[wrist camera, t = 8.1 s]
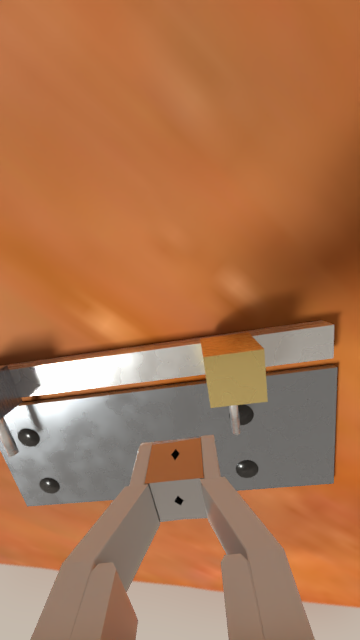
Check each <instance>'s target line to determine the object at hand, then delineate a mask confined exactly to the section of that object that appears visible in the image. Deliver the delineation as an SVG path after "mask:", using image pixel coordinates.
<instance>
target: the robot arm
mask: <svg viewBox="0 0 360 640" xmlns="http://www.w3.org/2000/svg"><path fill="white" fill-rule="evenodd" d="M197 518H208V521H209V522H210V524H211V526H212V528H213V530H214V532H215V533H216V535H217V537H218V539H219V541H220V543H221V545H222V546H223V548H224V550H225V552H226V554H227V555H224V557H223V559H222V561H221V569H222V579H223V588H224V598H225V607H226V617H227V627H228V636H229V640H315V639H314V636H313V633H312V630H311V627H310V625H309V621H308V619H307V615H306V613H305V610H304V607H303V604H302V601H301V598H300V595H299V592H298V589H297V586H296V583H295V580H294V577H293V575H292V572H291V569H290V566H289V563H288V560H287V557H286V554H285V551H284V549H283V548H282V546H281V545H280V544H279V543H278V541H277V540H276V539H275V538H274V537H273V535H272V534H271V533H270V532H269V530H268V529H267V528H266V527H265V526H264V524H263V523H262V522H261V521H260V519H259V518H258V517H257V516H256V514H255V513H254V512H253V511H252V510H251V508H250V507H249V506H248V505H247V503H246V502H245V501H244V500H243V498H242V497H241V496H240V495H239V494H238V492H237V491H236V490H235V489H234V487H233V486H232V485H231V484H230V483H229V481H228V480H227V479H226V478H225V477H221V475H220V469H219V463H218V457H217V451H216V445H215V439H214V435H207V436H198V437H190V438H183V439H177V440H166V441H155V442H146V443H141V445H140V446H139V449H138V453H137V457H136V461H135V465H134V468H133V472H132V476H131V480H130V484H129V486H126V487H124V488H123V490H122V491H121V492H120V493H119V495H118V496H117V497H116V498H115V499H114V501H113V502H112V503H111V504H110V506H109V507H108V508H107V509H106V511H105V512H104V513H103V514H102V515H101V517H100V518H99V519H98V520H97V522H96V523H95V524H94V525H93V527H92V528H91V529H90V530H89V531H88V533H87V534H86V535H85V536H84V538H83V539H82V540H81V541H80V543H79V544H78V545H77V546H76V547H75V549H74V550H73V551H72V552H71V554H70V555H69V556H68V557H67V558H66V560H65V561H64V562H63V563H62V566H61V568H60V570H59V573H58V575H57V578H56V580H55V582H54V585H53V587H52V589H51V592H50V594H49V597H48V599H47V602H46V604H45V606H44V609H43V611H42V614H41V616H40V618H39V621H38V623H37V626H36V628H35V630H34V633H33V635H32V637H31V640H135V639H136V632H137V624H138V620H137V617H136V614H135V612H134V609H133V607H132V605H131V603H130V600H129V598H128V596H127V593H126V592H127V590H128V588H129V586H130V584H131V582H132V580H133V578H134V576H135V574H136V572H137V570H138V568H139V566H140V564H141V562H142V560H143V558H144V556H145V554H146V552H147V550H148V548H149V546H150V544H151V542H152V540H153V538H154V536H155V533H156V531H157V529H158V527H159V525H160V522H164V521H172V520H181V519H197Z"/></svg>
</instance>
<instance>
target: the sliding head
mask: <svg viewBox="0 0 360 640" xmlns="http://www.w3.org/2000/svg"><path fill="white" fill-rule="evenodd" d="M200 341H201V348H202V355H203V361H204V368H205V375H206V381H207V388H208V394H209V401H210V407H211V408H215V407H224V406H229V413H230V421H231V429H232V433H233V434H235V435H238V434H240V433H241V428H240V419H239V409H238V405H243V404H252V403H261V402H268V398H267V383H266V367H265V352H264V348H263V347H262V346H261V345H260V344H259V343H258V342H257V341H256V340H255V339H254V338H253V337H252V335H251V334H250V333H249V332H247V333H240V334H233V335H225V336H218V337H211V338H204V339H200Z"/></svg>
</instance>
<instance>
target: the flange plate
mask: <svg viewBox="0 0 360 640" xmlns="http://www.w3.org/2000/svg"><path fill="white" fill-rule="evenodd" d="M266 383H267V398H268V402H261V403H252V404H243V405H238V409H239V419H240V428H241V433H240V434H238V435H235V434H233V433H232V429H231V421H230V413H229V406H224V407H215V408H211V407H210V401H209V394H208V388H207V381H206V380H201V381H193V382H185V383H176V384H168V385H160V386H152V387H144V388H136V389H128V390H120V391H111V392H103V393H95V394H87V395H79V396H71V397H63V398H55V399H46V400H38V401H30V402H22V403H20V404H19V405H18V406H17V407H15V408H14V409H13V410H12V411H10V412H9V413H8V414H7V415H5V416H4V419H5V421H6V423H7V425H8V428H9V430H10V432H11V434H12V436H13V439H14V441H15V443H16V445H17V447H18V449H19V452H18V453H17V454H16V455H14V456H12V457H9V456H8V453H7V451H6V449H5V447H4V445H3V443H2V441H1V439H0V451H1V453H2V455H3V457H4V459H5V461H6V463H7V465H8V467H9V469H10V471H11V473H12V475H13V478H14V480H15V482H16V484H17V486H18V488H19V490H20V492H21V494H22V496H23V498H24V500H25V502H26V504H27V506H38V505H52V504H65V503H78V502H92V501H105V500H114V499H115V498H116V497H117V496H118V495H119V493H120V492H121V491H122V490H123V488H124V487H126V486H129V484H130V480H131V476H132V472H133V468H134V465H135V461H136V457H137V453H138V449H139V446H140V445H141V443H146V442H155V441H166V440H177V439H183V438H190V437H198V436H207V435H214V439H215V445H216V451H217V457H218V463H219V469H220V475H221V477H225V478H226V479H227V480H228V481H229V483H230V484H231V485H232V486H233V487H234V489H235V490H236V491H238V490H252V489H265V488H278V487H292V486H305V485H319V484H332V483H334V455H335V426H336V396H337V367H336V366H335V365H333V364H331V365H323V366H315V367H306V368H298V369H290V370H282V371H274V372H266Z"/></svg>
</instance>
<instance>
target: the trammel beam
mask: <svg viewBox="0 0 360 640" xmlns="http://www.w3.org/2000/svg"><path fill="white" fill-rule="evenodd" d="M247 332H249V333H250V334H251V335H252V337H253V338H254V339H255V340H256V341H257V342H258V343H259V344H260V345H261V346H262V347H263V348H264V352H265V367H267V366H275V365H283V364H291V363H299V362H307V361H315V360H323V359H331V358H333V355H334V324H331V323H329V322H326V321H323V320H319V321H312V322H305V323H298V324H291V325H284V326H277V327H270V328H262V329H255V330H248V331H241V332H234V333H227V334H220V335H213V336H206V337H199V338H192V339H185V340H178V341H171V342H164V343H156V344H149V345H142V346H135V347H128V348H121V349H114V350H107V351H100V352H93V353H86V354H79V355H72V356H65V357H58V358H50V359H43V360H36V361H29V362H22V363H15V364H8V365H1V366H0V439H1V441H2V443H3V445H4V447H5V449H6V451H7V453H8V456H9V457H12V456H14V455H16V454H17V453H18V452H19V449H18V447H17V445H16V443H15V441H14V439H13V436H12V434H11V432H10V430H9V428H8V425H7V423H6V421H5V419H4V416H5V415H7V414H8V413H9V412H10V411H12V410H13V409H14V408H15V407H17V406H18V405H19V404H20V403H22V399H21V397H28V396H36V395H44V394H52V393H60V392H68V391H76V390H84V389H92V388H100V387H108V386H116V385H124V384H132V383H140V382H148V381H156V380H164V379H172V378H180V377H187V376H195V375H203V374H205V368H204V361H203V355H202V348H201V341H200V339H204V338H211V337H218V336H225V335H233V334H240V333H247Z"/></svg>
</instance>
